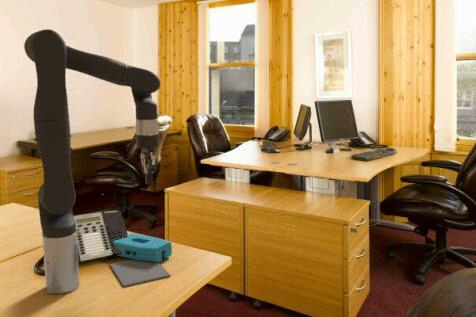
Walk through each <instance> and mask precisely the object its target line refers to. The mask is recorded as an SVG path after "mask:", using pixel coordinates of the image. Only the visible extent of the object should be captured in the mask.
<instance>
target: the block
mask: <svg viewBox="0 0 476 317" xmlns="http://www.w3.org/2000/svg"><path fill="white" fill-rule="evenodd" d="M127 236H128V237H126V238H122V239H119V240H115V239H114V240H115V241H113V244H114V245H115V246H116V247H117V248H118V249H119V250H120V251H121V252H122V254H121V255H116V256H119V257H121V258H122V257H123V258H127V259H129V260H132V259H134V260H139V261H149V262H159V263H160V262H161V261H162V260H163V258H164V259H167V258H169V257H171V255H172V254H173V250H172V242H170V241H168V240H165V239H162V238H161V237H160V238H158V237H154V236H149V235H144V234H140V233H139V234H138V233H134V232H133V233H132V232H131V233H129V234H127ZM126 250H129V251H130V252H128V253H127V252H126Z"/></svg>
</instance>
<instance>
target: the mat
mask: <svg viewBox="0 0 476 317" xmlns="http://www.w3.org/2000/svg"><path fill="white" fill-rule="evenodd" d="M109 267H110V268H111V269H112V271H113V272H114V274H115V275H116V277H117V279H118V280H119V282H120V284H121V286H122V287H123V288H126V287H130V286H135V285H139V284H143V283H144V284H145V283H148V282H152V281H156V280H161V279H166V278H170V277H171V274H170V273H169V271H168V270H167V269H166V268H165V267H164V266H163V265H162V264H161V263H160V261H159V262H149V261H139V260H134V259H128V260H123V261H118V262H114V263H113V262H112V263H109Z"/></svg>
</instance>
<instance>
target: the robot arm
mask: <svg viewBox="0 0 476 317" xmlns="http://www.w3.org/2000/svg"><path fill="white" fill-rule="evenodd" d="M23 44H24V45H23V47H24V52H25V55H26V57H28V59H29V60H30V61H32V62H33V63H34V66H35V71H36V80H37V82H36V83H37V85H36V86H37V87H36V92H35V98H34V104H33V126H34V136H35V140H36V141H35V142H36V144H37V145H36V146H37V148H38V153H39V156H40V160H41V166H42V169H43V183H42V184H41V186H40V187H39V188H38V192H37V193H38V194H37V203H38V212H39V222H40V227H41V233H42V245H43V264H44V276H45V287H46V288H45V289H46V292H47V295H51V294H54V295H60V294H67V293H70V292H72V291H75V290H77V288H79V286H80V270H79V269H80V268H79V254H78V243H77V242H78V240H77V225H76V224H77V223H76V221H75V218H74V212H73V207H74V205H75V203H76V199H77V195H76V189H75V184H74V183H75V182H74V180H73V173H72V172H73V171H72V165H71V155H72V154H71V151H72V150H71V149H72V148H71V126H70V125H71V124H70V123H71V122H70V115H69V114H70V112H69V103H68V101H69V100H68V93H67V84H66V82H67V81H66V80H67V79H66V78H67V77H66V74H67V72H66V70H67V69H68V70H71V71H74V72H77V73H80V74H85V75H88V76H89V77H94V78H96V79H99V80H102V81H105V82H107V83H111V84H114V85H117V86H121V87H130V90H131V94H132V98H133V101H134V105H135V142H136V143H135V144H136V148H138V149H141V153H140V154H139V158H140V163H141V168H142V170H143V172H144V176H145V177H144V178H145V179H144V180H145V184H146V185H153V184H154V176H153V174H154V173H156V170H157V166H158V159H157V155H156V152H155V148H159V147H160V128H159V127H160V126H159V125H160V124H159V118H158V105H157V103H156V102H155V101H154V100H153V96H152V94H154V93H156V92H157V91H158V90H159V89H160V87H161V80H160V77H159V75H158V74H156V72H154V71H151V70H148V69H146V68H141V67H138V66H137V67H136V66H132V65H129V64H128V63H127V64H126V63H125V62H122V61H119V60H116V59H113V58H110V57H107V56H104V55H99V54H96V53H91V52H86V51H83V50H80V49H76V48H73V47H72V46H69V45H67V44H66V41H65V39H64V38H63V37H62V35H61V34H59V32H58V31H55V30H53V29H50V28H49V29H46V28H45V29H42V30H41V29H40V30H38V31H35V32H33V33H31V34H30V35H29V36H28V37H26V39H25V41H24V43H23Z"/></svg>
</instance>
